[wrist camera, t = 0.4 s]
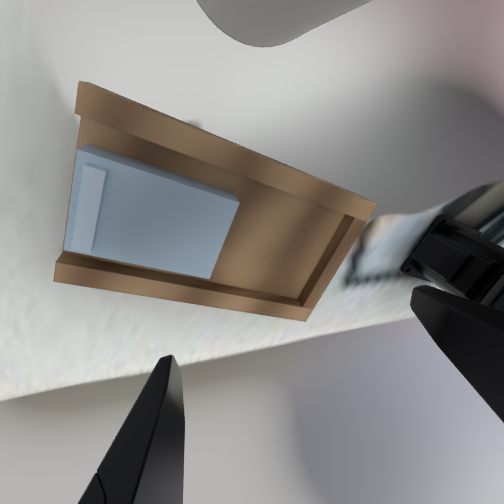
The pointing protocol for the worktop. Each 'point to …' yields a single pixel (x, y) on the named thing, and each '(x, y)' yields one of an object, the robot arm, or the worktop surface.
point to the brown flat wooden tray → (244, 222)
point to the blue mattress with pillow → (145, 214)
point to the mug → (273, 18)
